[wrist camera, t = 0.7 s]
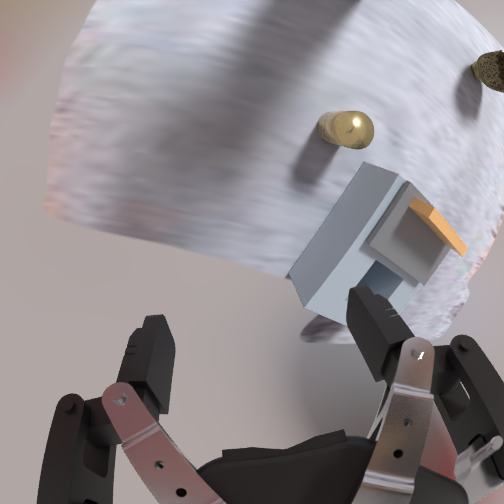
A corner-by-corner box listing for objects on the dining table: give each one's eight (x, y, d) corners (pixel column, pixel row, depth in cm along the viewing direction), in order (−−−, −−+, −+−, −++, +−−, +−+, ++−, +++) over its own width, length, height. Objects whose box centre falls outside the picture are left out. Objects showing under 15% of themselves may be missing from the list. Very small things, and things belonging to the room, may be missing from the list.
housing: (363, 161, 32) (399, 174, 25) (422, 215, 36) (455, 236, 29) (288, 272, 38) (304, 307, 31) (356, 306, 42) (377, 338, 35)
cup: (467, 88, 27) (503, 91, 20) (459, 48, 24) (494, 45, 17) (489, 94, 27) (522, 98, 20) (483, 56, 24) (515, 56, 17)
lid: (406, 180, 25) (431, 191, 21) (454, 233, 28) (475, 248, 25) (365, 241, 27) (385, 260, 24) (420, 282, 31) (439, 300, 27)
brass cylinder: (328, 105, 28) (352, 103, 23) (353, 124, 30) (380, 127, 24) (311, 131, 30) (332, 133, 24) (336, 150, 31) (361, 157, 25)
